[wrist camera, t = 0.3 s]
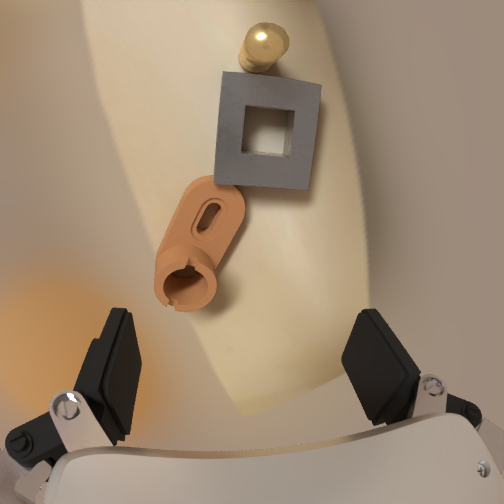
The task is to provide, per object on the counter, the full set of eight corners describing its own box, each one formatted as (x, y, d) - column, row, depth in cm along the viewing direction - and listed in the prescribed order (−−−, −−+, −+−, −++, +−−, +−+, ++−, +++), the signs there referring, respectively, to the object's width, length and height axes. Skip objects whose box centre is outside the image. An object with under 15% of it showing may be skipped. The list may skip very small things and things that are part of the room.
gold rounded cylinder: (240, 41, 29) (248, 19, 21) (273, 45, 30) (290, 26, 22) (236, 71, 31) (243, 56, 23) (270, 74, 32) (287, 62, 24)
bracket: (197, 289, 45) (201, 317, 39) (148, 273, 42) (146, 301, 36) (251, 190, 39) (265, 207, 34) (197, 165, 36) (201, 178, 30)
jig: (222, 75, 31) (222, 71, 28) (312, 87, 33) (321, 84, 30) (213, 178, 37) (213, 184, 34) (300, 184, 39) (308, 190, 36)
